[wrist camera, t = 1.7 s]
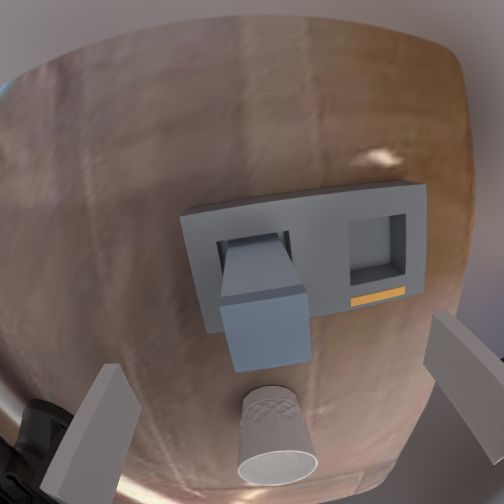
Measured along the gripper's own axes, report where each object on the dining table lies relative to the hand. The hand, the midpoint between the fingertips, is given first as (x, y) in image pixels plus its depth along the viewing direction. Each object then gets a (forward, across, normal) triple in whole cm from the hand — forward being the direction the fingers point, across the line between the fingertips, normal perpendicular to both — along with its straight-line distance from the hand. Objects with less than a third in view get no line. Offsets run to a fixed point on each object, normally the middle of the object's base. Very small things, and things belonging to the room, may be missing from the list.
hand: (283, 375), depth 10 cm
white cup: (+16, -2, -19) cm, 25 cm away
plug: (+15, 0, 0) cm, 15 cm away
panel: (+16, +4, 0) cm, 17 cm away
